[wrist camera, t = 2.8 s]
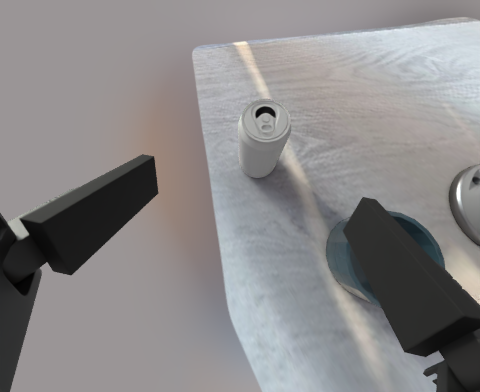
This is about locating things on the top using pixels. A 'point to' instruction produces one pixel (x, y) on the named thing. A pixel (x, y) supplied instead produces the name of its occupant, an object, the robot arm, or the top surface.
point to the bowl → (349, 267)
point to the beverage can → (262, 136)
